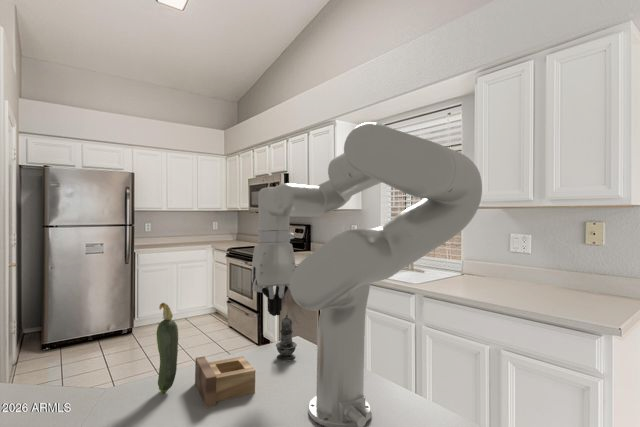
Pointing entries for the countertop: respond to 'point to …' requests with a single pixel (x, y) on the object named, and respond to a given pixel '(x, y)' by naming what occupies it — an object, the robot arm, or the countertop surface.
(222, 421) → the countertop surface
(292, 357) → the ornate incense burner
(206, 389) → the wall
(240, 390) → the socket block
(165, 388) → the vegetable
